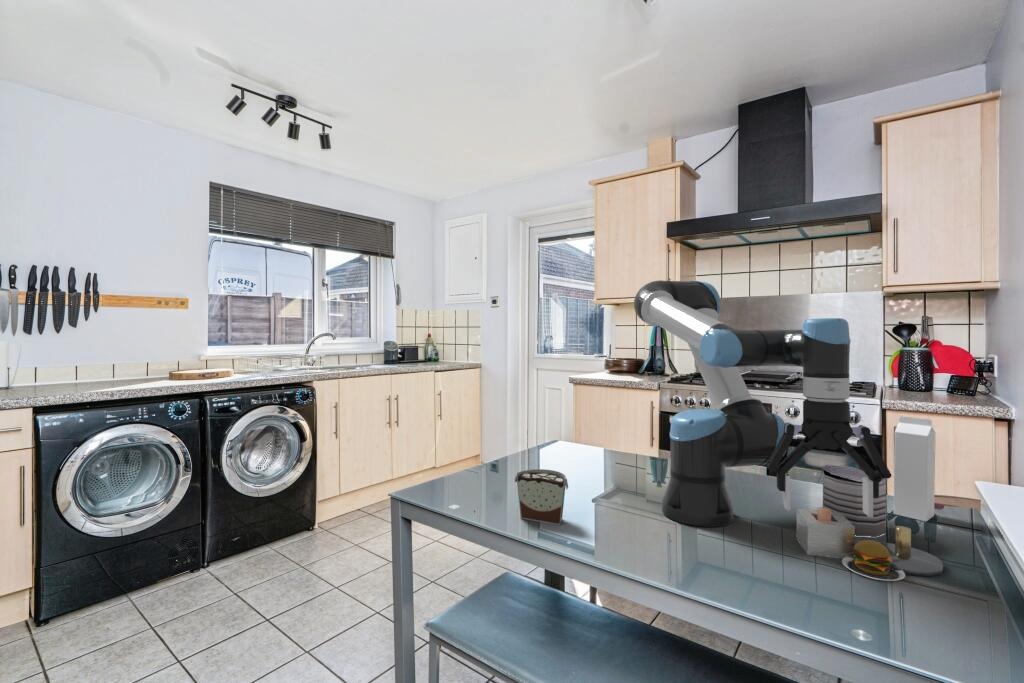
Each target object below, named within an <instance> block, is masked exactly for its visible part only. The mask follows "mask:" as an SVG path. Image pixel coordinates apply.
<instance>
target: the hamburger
mask: <svg viewBox="0 0 1024 683" xmlns="http://www.w3.org/2000/svg"><path fill="white" fill-rule="evenodd" d="M880 543H881V542H878V541H876V540H872V539H871V540H870V539H863V540H860V541H858V542H856V544H855V548H854V549H855V550H854V553H853V555H854V554H855V555H854V559H853V558H850V557H845V558H843V559H842V560H841V563H842V565H843V566H844V567H845V568H846V569H848V570H850V571H852V572H853V573H855V574H857V575H860V576H862V577H866V578H868V579H873V580H877V581H884V582H893V581H894V582H895V581H901V580H904V579H905V577H906V573H904V572H903V571H902V570H896V571H897V572H898V573H897V572H896V571H895V572H896V573H897V575H898V574H899V575H898V577H897V578H894V579H883V578H878V577H872V576H869V575H865V574H862V573H860V572H857V571H855V570H854V569H851V568H850V567H849V565H848V564H849V563H850V562H852V561H851V560H854V561H853V562H854V565H855V566H856V568H857V569H858V570H860V571H862V572H864V573H866V574H870V575H874V576H887V575H888V574H889V573H890V570H891V569H890V568H891V567H890V565H892V564H891V563H890V562H892V561H891V558H890V557H889V556H890V552H889V550H888V549H887V548H886V547H885V546H884V545H882V544H880ZM849 561H850V562H849Z"/></svg>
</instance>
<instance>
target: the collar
mask: <svg viewBox="0 0 1024 683" xmlns="http://www.w3.org/2000/svg"><path fill="white" fill-rule="evenodd" d="M817 515H818V509H816V510H815V509H804V508H796V530H795V532H796V534H795V535H796V536H795V538H797V539H796V540H797V541H799V542H800V543H799V542H798V543H799V544H801V545H800V546H801V547H803V548H802V549H803V551H804V550H805V551H804V552H805V554H806V555H808V556H813V557H814V556H816V555H817V556H816V557H823V556H829V557H828V558H832V557H839V558H838V559H841V558H845V557H850V558H853V559H854V556H855V554H854V555H853V553H854V550H855V549H854V548H855V546H856V544H855V542H856V541H855V540H856V537H855V527H854V526H853V525H852V524H851V523H850V522H849V521H848V520H847V519H846V518H845V517H844V516H843V515H842V514H841V513H840V512H831V521H822V520H817Z"/></svg>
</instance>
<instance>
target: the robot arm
mask: <svg viewBox="0 0 1024 683" xmlns="http://www.w3.org/2000/svg"><path fill="white" fill-rule="evenodd" d="M720 303H721V297H720V294H719V292H718V291H717V289H716V288H715V286H713V284H711V283H709V282H706V281H700V280H699V281H698V280H690V281H689V280H688V281H687V280H684V281H683V280H655V281H650V282H648V283H646V284H644V285H643V286H642V287H640V289H639V290H638V291H637V293H636V295H635V297H634V299H633V308H634V312H635V314H636V315H637V317H638V318H639V319H640V320H641V321H642V322H644V323H645V324H647V325H650V326H652V327H660V328H662V329H663V330H665V331H666V332H668V333H671V334H672V335H674V336H676V337H677V338H679V339H680V340H682V341H684V342H686V343H687V345H688V347H689V349H690V351H691V354H692V357H693V358H694V362H695V363H696V366H697V368H698V370H699V372H700V374H701V375H700V376H701V377H702V379H703V382H704V384H705V386H706V389H707V390H708V394H709V396H710V398H711V401H712V402H713V405H714V407H715V409H714V408H703V409H702V408H696V409H695V408H694V409H688V410H683V411H681V412H678V413H676V414H674V415H673V417H672V418H671V421H670V429H669V430H670V431H669V439H670V442H669V443H670V446H669V447H670V449H669V450H670V459H669V461H670V462H669V463H670V464H669V465H670V471H669V472H670V473H669V474H670V476H669V477H670V478H669V481H668V484H667V487H666V490H665V492H664V495H663V498H662V502H661V504H662V505H661V507H662V509H661V510H662V511H661V512H662V514H663V515H664V516H665V517H667V518H668V519H670V520H673V521H675V522H678V523H681V524H685V525H689V526H695V527H703V528H704V527H708V528H709V527H710V528H711V527H713V528H714V527H723V526H726V525H729V524H732V522H733V521H734V507H733V504H732V501H731V498H730V495H729V492H728V488H727V485H726V468H732V467H734V468H736V467H737V468H738V467H748V466H749V467H750V466H757V467H758V466H759V467H760V466H765V465H766V468H767V470H769V471H770V472H774V473H776V488H777V490H778V491H779V492H782V507H783V508H784V509H785V511H791V475H790V474H789V473H788V472H790V471H791V469H792V468H793V467H794V466H795V465H796V464H797V463H799V461H800V460H801V459H802V458H803V457H804V456H805V455H806V454H807V453H809V452H810V451H811V450H813V448H816V449H818V450H826V449H828V450H833V451H837V450H838V449H842V450H843V451H844V453H846V454H847V456H849V458H851V460H852V461H853V462H854V463H855V464H856V465H857V467H859V469H860V470H863V472H864V473H865V474H866V475H867V476H868V478H864V477H863V512H864V513H865V514H866V515H867V516H868V517H873V498H878V496H879V482H881V480H882V479H884V478H885V479H890V478H892V473H891V471H890V469H889V467H888V465H887V464H886V463H885V461H884V458H882V455H881V454H880V452H879V450H878V448H877V446H876V445H875V443H874V442H873V440H872V434H871V430H870V427H867V426H865V425H862V424H860V425H858V426H851V420H850V419H851V414H850V413H851V409H850V407H851V405H850V404H851V403H849V401H847V400H848V399H850V396H851V395H850V353H851V352H850V351H851V342H852V341H851V339H850V338H851V336H850V328H849V322H848V321H847V320H846V319H844V318H843V317H842V318H840V317H839V318H838V317H837V318H836V317H828V318H826V317H823V318H818V317H817V318H807V319H805V320H804V321H803V323H802V328H801V329H737V328H734V327H732V326H730V325H728V324H726V323H724V322H722V321H719V315H720V312H721V307H722V305H721V304H720ZM781 366H782V367H802V389H803V390H802V396H803V397H805V398H806V399H804V400H803V401H802V423H801V424H800V425H799V424H792V423H791V422H785V420H784V419H783V417H781V415H777V413H774V412H767V410H766V408H765V406H764V404H763V402H762V400H761V399H759V398H756V397H754V396H753V397H752V395H751V393H750V391H749V389H748V387H747V385H746V383H745V380H744V379H743V376H742V374H741V373H740V370H739V368H740V367H742V368H743V367H744V368H745V367H781ZM799 432H801V433H802V434H803V436H804V438H803V439H801V441H800V442H799V444H798V445H797V446H796V447H795V448H794V449H793V450H792V451H791V452H790V453H789V454H788V455H787V456H786V457H785V458H784V459H783V457H784V456H785V454H786V452H787V449H788V448H789V446H790V444H791V442H793V439H794V436H795V437H796V436H797V435H798V434H799ZM853 434H854V436H855V438H857V439H859V441H860V443H861V444H862V446H863V448H864V450H865V451H866V453H867V455H868V456H869V459H870V460H871V462H872V464H873V465H874V468H875V469H876V470H874V469H873V468H872V467H871V466H870V465H869V464H868V462H866V460H865V459H864V458H863V457H862V456H861V455H860V454H859V453H858V452H857V451H856V450H855V448H854V447H853V446H852V445H851V444H850V443H849V441H848V440H849V439H850V438H851V437H852V435H853ZM782 459H783V460H782ZM781 460H782V461H781Z"/></svg>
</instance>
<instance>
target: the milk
mask: <svg viewBox="0 0 1024 683" xmlns="http://www.w3.org/2000/svg"><path fill="white" fill-rule="evenodd" d="M893 449H894V454H893V455H894V457H893V459H894V460H893V461H894V462H893V515H898V516H901V517H905V518H910V519H915V520H918V521H921V522H928V521H929V520H930V519H932V518H933V517H935V499H936V498H935V490H936V489H935V487H936V482H935V480H936V431H935V430H934V427H933V421H932V419H930V418H929V419H928V418H919V417H918V418H917V417H912V416H911V417H909V416H903V415H900V416H899V417H898V424H897V426H896V428H895V430H894V448H893Z"/></svg>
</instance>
